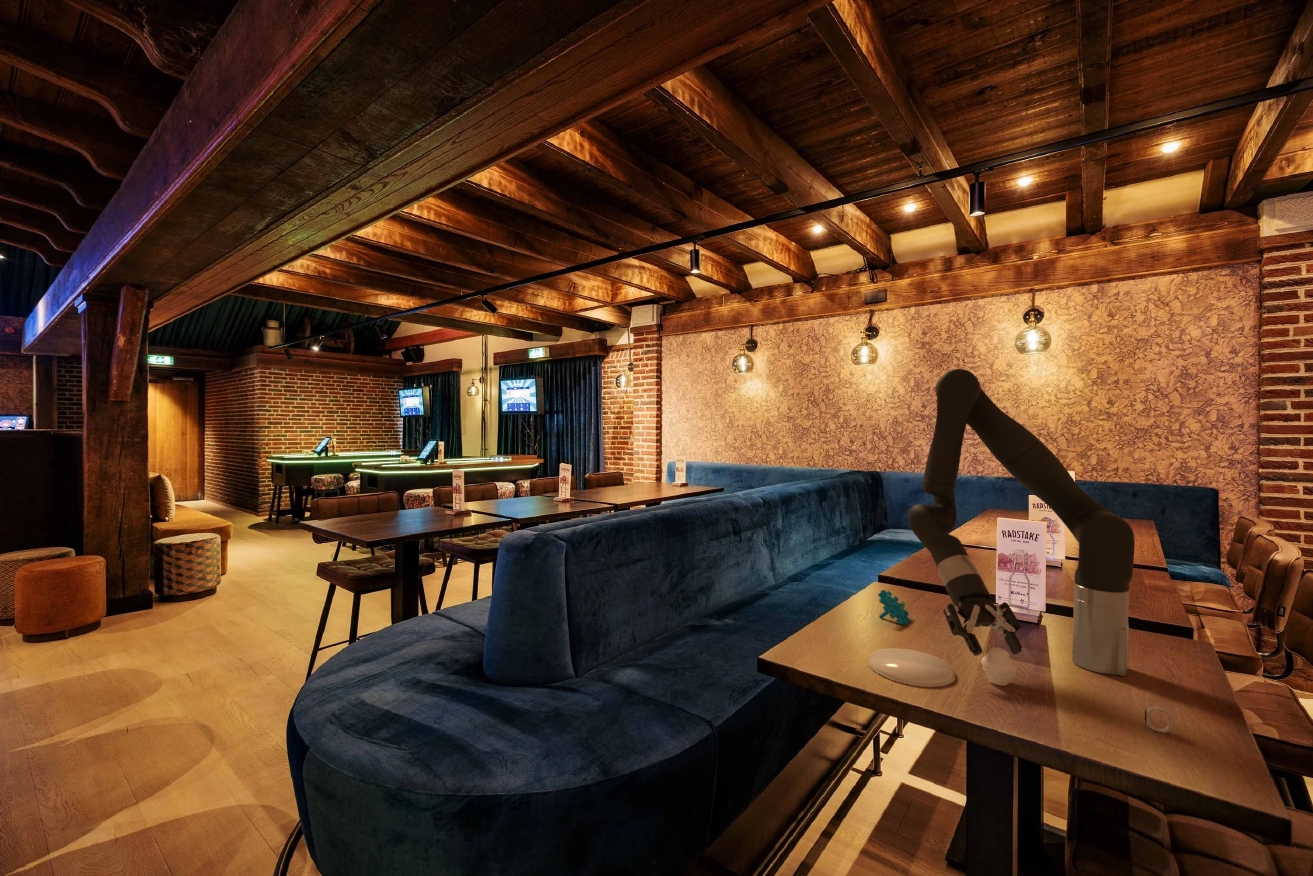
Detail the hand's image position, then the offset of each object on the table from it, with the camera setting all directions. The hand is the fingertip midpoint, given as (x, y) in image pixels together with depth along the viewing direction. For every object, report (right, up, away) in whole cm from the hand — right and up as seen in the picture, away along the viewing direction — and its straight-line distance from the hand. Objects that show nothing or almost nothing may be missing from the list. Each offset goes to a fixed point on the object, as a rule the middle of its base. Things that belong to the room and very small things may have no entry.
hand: (998, 653), depth 114 cm
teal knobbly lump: (-6, -5, +36) cm, 36 cm away
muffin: (0, -6, 0) cm, 6 cm away
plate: (-15, -5, +6) cm, 17 cm away
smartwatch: (+16, -7, -18) cm, 25 cm away
